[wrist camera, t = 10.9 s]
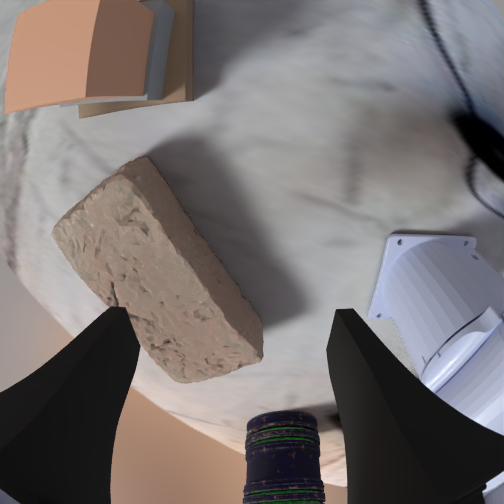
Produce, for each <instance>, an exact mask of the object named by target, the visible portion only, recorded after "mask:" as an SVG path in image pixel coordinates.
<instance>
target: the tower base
mask: <svg viewBox="0 0 504 504" xmlns="http://www.w3.org/2000/svg"><path fill="white" fill-rule="evenodd" d="M147 1H156V0H140V1H139V2H147ZM164 1H165V2H166V3H167V4H168V5H169V6H170V7H171V8H172V9H173V10H174V11H175V17H174V21H173V27H172V32H171V38H170V43H169V49H168V56H167V62H166V69H165V77H164V85H163V94H162V100H137V101H114V102H100V103H89V104H79V119H80V118H86V117H92V116H97V115H102V114H106V113H111V112H116V111H121V110H127V109H133V108H139V107H145V106H152V105H160V104H168V103H177V102H188V101H194V100H193V31H194V0H164Z"/></svg>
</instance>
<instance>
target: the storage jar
mask: <svg viewBox="0 0 504 504" xmlns="http://www.w3.org/2000/svg"><path fill="white" fill-rule="evenodd" d="M316 427H317V420H316V418H315V417H314V416H312V415H311V414H308V413H304V412H299V411H276V412H269V413H265V414H261V415H258V416H256V417H254V418H252V419H251V420H250V421H249V422H248V423H247V431H248V433H247V435H246V438H247V439H246V441H245V450H246V461H247V479H246V485H245V486H244V490H243V492H244V498H243V504H325V503H323V502H325V493H323V492H324V485H323V481H322V480H321V474H320V463H319V457H320V438H319V435H318V430H317V428H316Z"/></svg>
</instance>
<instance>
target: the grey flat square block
mask: <svg viewBox="0 0 504 504" xmlns="http://www.w3.org/2000/svg"><path fill="white" fill-rule="evenodd" d="M140 3H142V4H143V5H144V6H146V7H147V8H148V9H150V10H151V11H152V12H154V13H155V14H154V20H153V25H152V31H151V37H150V43H149V50H148V57H147V65H146V73H145V82H144V93H143V96H137V97H120V98H108V99H98V100H89V101H82V102H74V103H67V104H60V107H63V106H71V105H79V104H89V103H100V102H114V101H137V100H162V94H163V85H164V77H165V69H166V62H167V56H168V49H169V43H170V38H171V32H172V27H173V21H174V17H175V11H174V10H173V9H172V8H171V7H170V6H169V5H168V4H167V3H166V2H165V1H164V0H156V1H147V2H140Z"/></svg>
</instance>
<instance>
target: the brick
mask: <svg viewBox="0 0 504 504" xmlns="http://www.w3.org/2000/svg"><path fill="white" fill-rule="evenodd" d="M52 236H53V239H54V240H55V242H56V243H57V245H58V247H59V248H60V250H62V252H63V254H64V255H65V257H66V259H67V260H68V261H69V262H70V264H71V266H72V268H73V270H74V271H75V272H77V274H78V275H79V277H80V278H81V279H82V280H83V281H84V282H85V283H86V285H87V286H88V287H89V288H90V289H91V290H92V291H93V292H94V293H95V294H96V295H97V296H98V297H99V298H100V299H101V300H102V301H103V302H104V303H105V304H106V305H107V306H109V307H111V306H117V307H126V309H127V312H128V315H129V318H130V320H131V323H132V326H133V328H134V331H135V333H136V336H137V338H138V340H139V342H140V344H141V345H142V346H143V348H144V350H145V351H147V352H148V354H149V356H150V357H151V358H152V359H153V360H154V361H155V362H156V364H157V365H159V366H160V367H161V368H162V369H163V370H164V371H165V373H166V374H167V375H169V376H170V377H171V378H172V379H173V380H174V381H176V382H179V383H192V382H197V383H198V382H200V381H203V380H207V379H210V378H213V377H218V376H222V375H225V374H228V373H230V372H232V371H235V370H237V369H239V368H241V367H244V366H246V365H251V364H255V363H258V362H261V360H262V358H263V356H264V355H263V342H264V341H263V328H262V322H261V321H260V318H259V316H258V314H257V313H256V312H255V310H254V309H253V307H252V306H251V304H250V302H248V301H247V300H246V299H244V298H243V297H242V295H241V289H240V287H239V286H238V285H237V284H236V283H234V281H233V280H232V278H231V276H230V275H229V274H228V272H227V271H226V269H225V268H224V267H223V265H222V264H221V262H220V260H219V259H218V258H217V257H216V256H215V255H214V254H213V252H212V250H211V248H210V247H209V245H208V244H207V243H206V242H205V240H204V239H203V238H202V237H201V236H200V234H199V232H198V230H197V229H196V227H195V226H194V224H193V223H192V221H191V220H190V219H189V218H188V216H187V215H186V214H185V213H184V211H183V210H182V208H181V206H180V203H179V202H178V200H177V199H176V197H175V196H174V194H173V192H172V190H171V189H170V187H169V185H168V184H167V182H166V181H165V180H164V178H163V177H162V176H161V175H160V173H159V172H158V170H157V168H156V167H155V166H154V164H153V163H152V162H151V161H150V160H149V159H148V158H147V157H143V158H141V157H138V158H136V159H135V160H133V161H129V162H128V163H126V164H125V165H123V166H121V167H120V168H119V169H118V170H116V171H115V173H114V174H113V175H112V177H109V178H107V179H105V180H103V181H102V183H101V184H100V185H99V186H97V187H96V188H94V189H93V190H92V191H91V192H90V193H89V194H88V195H87V196H86V197H85V198H84V199H83V200H81V201H80V202H79V203H77V204H76V205H75V206H74V207H72V208H71V209H70V210H69V211H68V212H67V213H66V214H65V215H63V217H62V218H61V219H60V220H59V222H58V223H57V224H56V225H55V226H54V229H53V231H52Z"/></svg>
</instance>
